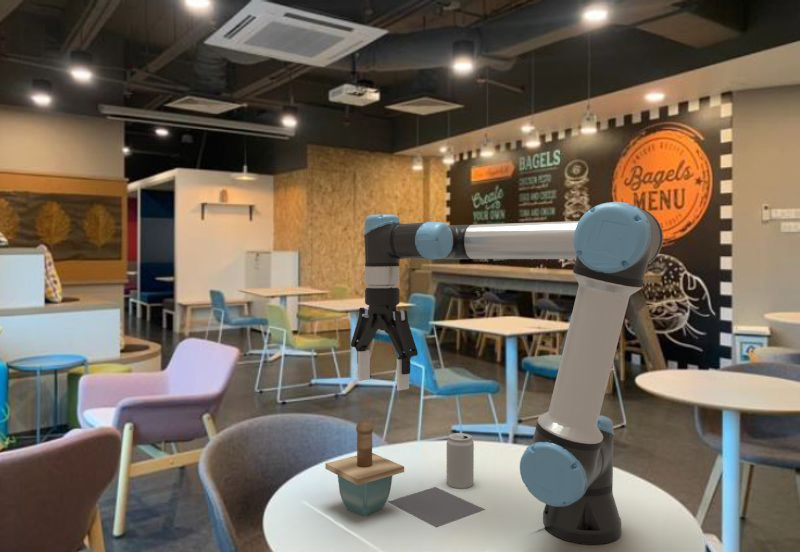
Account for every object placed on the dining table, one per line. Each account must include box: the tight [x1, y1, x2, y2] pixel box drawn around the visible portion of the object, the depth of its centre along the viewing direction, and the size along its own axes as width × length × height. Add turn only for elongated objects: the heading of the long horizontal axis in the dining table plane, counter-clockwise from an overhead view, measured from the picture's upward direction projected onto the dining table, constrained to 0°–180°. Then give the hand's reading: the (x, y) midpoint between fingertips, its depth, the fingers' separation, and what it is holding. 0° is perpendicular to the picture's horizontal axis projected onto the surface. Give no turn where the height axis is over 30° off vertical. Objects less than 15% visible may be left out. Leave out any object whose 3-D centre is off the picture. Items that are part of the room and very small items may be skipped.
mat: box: [387, 486, 486, 528], centre depth 132 cm, size 16×14×1 cm
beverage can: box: [446, 432, 475, 490], centre depth 144 cm, size 6×6×12 cm
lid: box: [324, 419, 405, 485], centre depth 129 cm, size 12×12×11 cm
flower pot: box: [337, 475, 394, 517], centre depth 130 cm, size 9×9×9 cm
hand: (382, 384), depth 132 cm, fingers open, 13 cm apart
